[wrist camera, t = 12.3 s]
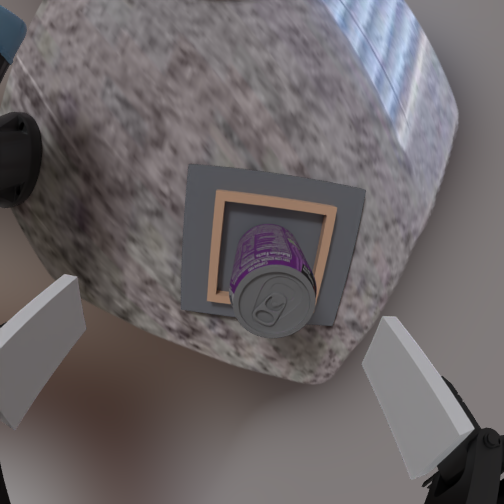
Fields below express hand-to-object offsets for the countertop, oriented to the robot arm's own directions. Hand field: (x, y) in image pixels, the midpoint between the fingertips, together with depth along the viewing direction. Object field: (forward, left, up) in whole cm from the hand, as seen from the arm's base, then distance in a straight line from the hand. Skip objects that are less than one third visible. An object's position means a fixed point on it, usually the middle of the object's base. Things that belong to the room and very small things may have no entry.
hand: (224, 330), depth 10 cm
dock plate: (+3, -4, -22) cm, 22 cm away
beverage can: (+3, -3, -21) cm, 21 cm away
